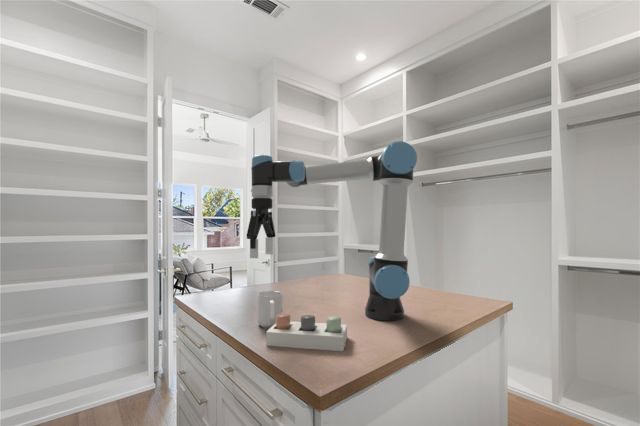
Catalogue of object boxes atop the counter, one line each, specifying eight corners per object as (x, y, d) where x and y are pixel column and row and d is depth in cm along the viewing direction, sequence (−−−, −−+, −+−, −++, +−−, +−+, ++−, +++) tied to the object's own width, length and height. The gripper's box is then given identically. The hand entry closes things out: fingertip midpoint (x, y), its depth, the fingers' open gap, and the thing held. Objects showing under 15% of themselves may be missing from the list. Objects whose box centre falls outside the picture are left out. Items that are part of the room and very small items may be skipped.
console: (347, 337, 98) (347, 324, 98) (343, 351, 87) (343, 336, 87) (278, 332, 103) (278, 320, 103) (266, 345, 92) (266, 331, 92)
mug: (257, 321, 115) (257, 291, 115) (281, 319, 117) (281, 290, 117) (259, 332, 103) (259, 299, 103) (285, 330, 105) (285, 297, 106)
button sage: (341, 330, 95) (341, 316, 95) (339, 335, 91) (339, 321, 91) (327, 329, 96) (327, 315, 96) (325, 334, 92) (325, 320, 92)
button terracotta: (291, 327, 98) (291, 314, 98) (287, 332, 94) (287, 318, 94) (278, 326, 99) (278, 313, 99) (274, 331, 95) (274, 317, 95)
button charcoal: (316, 328, 97) (316, 315, 97) (313, 333, 92) (313, 319, 93) (302, 328, 98) (302, 314, 98) (299, 332, 93) (299, 318, 93)
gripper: (265, 200, 126) (265, 252, 125) (236, 195, 102) (236, 259, 101) (283, 200, 124) (283, 253, 124) (257, 194, 100) (257, 260, 99)
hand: (262, 256), depth 112 cm, fingers open, 13 cm apart
